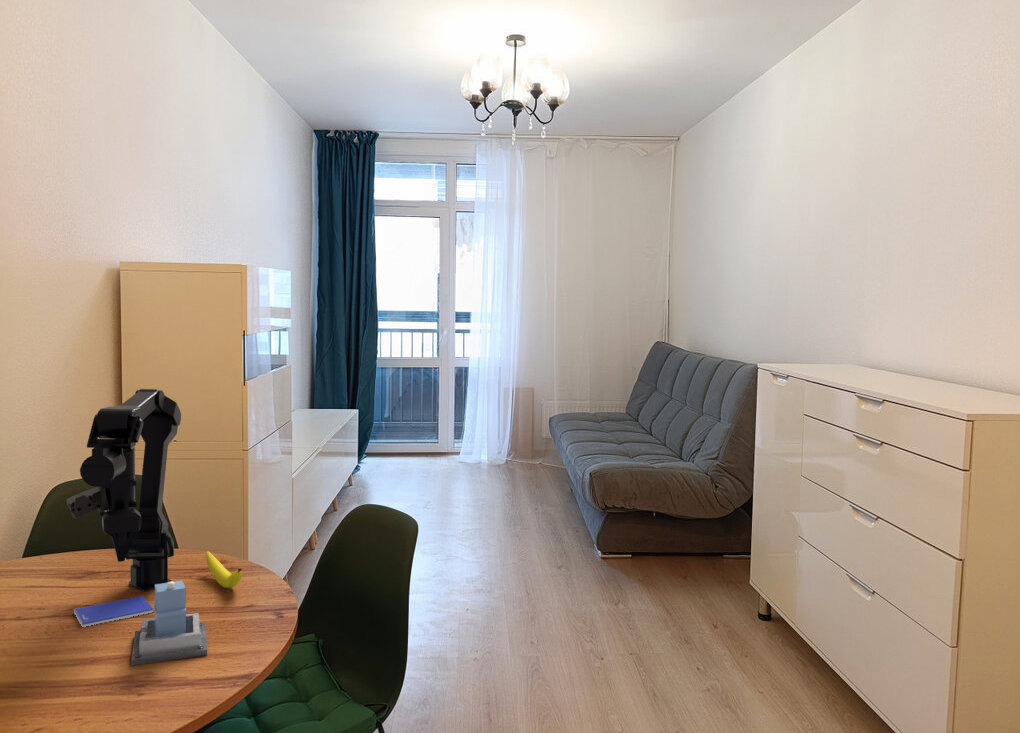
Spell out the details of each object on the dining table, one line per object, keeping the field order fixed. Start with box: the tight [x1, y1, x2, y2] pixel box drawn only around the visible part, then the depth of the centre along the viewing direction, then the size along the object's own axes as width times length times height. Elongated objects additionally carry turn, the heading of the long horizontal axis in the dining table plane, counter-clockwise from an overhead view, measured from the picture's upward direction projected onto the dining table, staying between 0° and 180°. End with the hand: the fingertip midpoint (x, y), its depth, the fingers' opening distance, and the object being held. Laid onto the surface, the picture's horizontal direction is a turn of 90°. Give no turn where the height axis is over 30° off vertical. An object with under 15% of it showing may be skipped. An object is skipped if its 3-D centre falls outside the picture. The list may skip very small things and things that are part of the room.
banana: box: [205, 550, 243, 589], centre depth 166 cm, size 3×19×6 cm, turn 41°
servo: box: [153, 580, 188, 637], centre depth 137 cm, size 6×5×11 cm
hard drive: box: [73, 595, 154, 628], centre depth 150 cm, size 2×8×12 cm
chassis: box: [130, 612, 208, 667], centre depth 137 cm, size 12×12×4 cm
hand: (119, 553), depth 146 cm, fingers open, 9 cm apart
